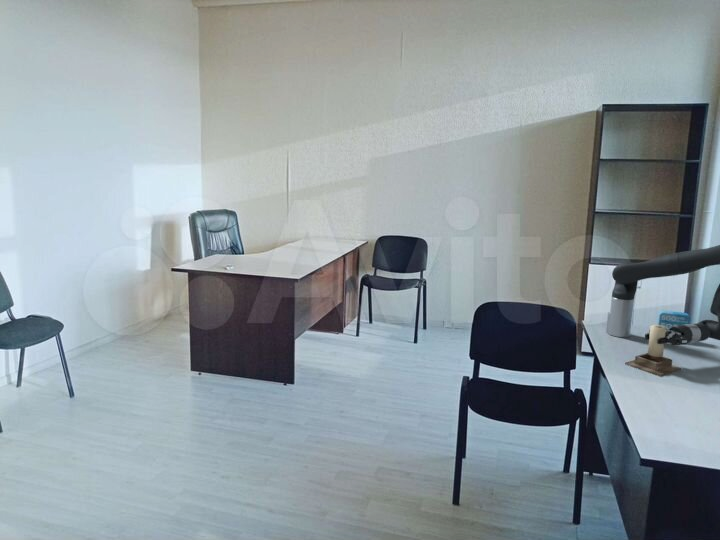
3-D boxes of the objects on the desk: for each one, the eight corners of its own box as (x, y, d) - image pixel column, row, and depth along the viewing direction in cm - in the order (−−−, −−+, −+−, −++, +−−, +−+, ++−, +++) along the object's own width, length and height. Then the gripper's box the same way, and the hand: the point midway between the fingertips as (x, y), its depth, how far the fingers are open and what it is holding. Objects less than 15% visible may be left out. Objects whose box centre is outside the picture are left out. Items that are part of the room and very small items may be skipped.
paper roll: (644, 353, 215) (647, 325, 213) (652, 351, 218) (655, 323, 216) (657, 357, 211) (660, 329, 208) (665, 355, 213) (668, 327, 211)
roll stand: (624, 364, 218) (625, 355, 217) (646, 358, 225) (647, 349, 224) (659, 376, 206) (660, 367, 205) (681, 369, 213) (682, 360, 212)
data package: (656, 338, 250) (660, 312, 248) (655, 335, 255) (659, 309, 252) (687, 342, 246) (691, 315, 243) (686, 339, 250) (689, 313, 247)
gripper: (669, 320, 224) (637, 324, 218) (702, 330, 211) (669, 334, 205) (667, 338, 225) (635, 342, 219) (700, 349, 212) (666, 354, 206)
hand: (651, 338), depth 212 cm, fingers closed on paper roll, 5 cm apart
